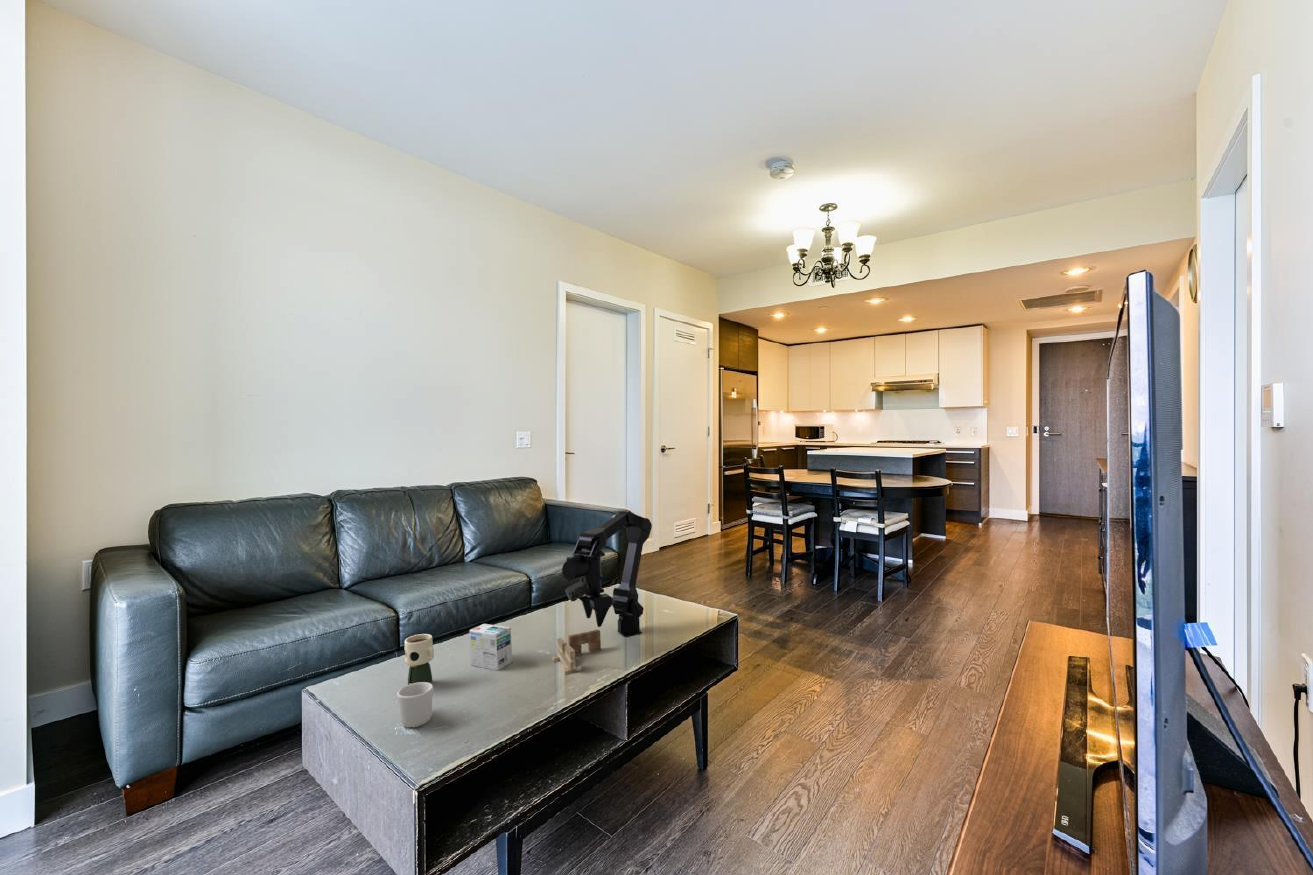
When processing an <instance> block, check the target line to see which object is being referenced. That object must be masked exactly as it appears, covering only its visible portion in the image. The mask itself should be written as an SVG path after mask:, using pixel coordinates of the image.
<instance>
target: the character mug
mask: <svg viewBox="0 0 1313 875" xmlns="http://www.w3.org/2000/svg"><path fill="white" fill-rule="evenodd" d="M404 653H405V654H404V655H405V656H404V662H405V664H406V665H407V666H409V668H408V676H407V685H409V684H413V683H418V682H427V683H431V684H432V682H433V675H432V669H431V664H430V663H429V662H431V661H432V660H434V657H435V656H434V655H435V654H434V645H433V636H432V634H429V633H421V634H419V633H418V634H414V635H411V636H409V637H407V638H405V639H404Z"/></svg>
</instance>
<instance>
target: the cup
mask: <svg viewBox="0 0 1313 875" xmlns="http://www.w3.org/2000/svg"><path fill="white" fill-rule="evenodd" d="M433 697H434V685H433V684H432V682H431V683H427V682H418V683H413V684H409V685H408V684H407V685H404V686H402V687H401V688H400V689H399V690H398V691H397V693H396V698H397V699H396V700H397V705H398V710H399V711H398V712H399V717H400V722H401V724H402V725H403V727H405V728H408V727H413V728H417V727H422V726H424V725H425V724H426V723H428V722H429V721H430V719H431V718H432V711H433Z"/></svg>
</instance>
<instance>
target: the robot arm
mask: <svg viewBox="0 0 1313 875" xmlns="http://www.w3.org/2000/svg"><path fill="white" fill-rule="evenodd" d="M624 528H626V536H627V540H628V546H627V551H626V555H625V562H624V567H623V573H622V577H621V582H620V584H619V585H618V587H614V588H613V593H612V596H611V595H610V594H608V593H606V592H605V589H604V588H603V585H602V584H603V583H602V582H603V581H602V580H604V579H605V577H604V575H602V557H605V556H606V553H605V552H604V551H602V549H603V548H604V547H605V546H606V545H607V543H608V540H609V539H610V538H611V537H613V536H614V535H615V534H617V533H618V532H619V531H621V530H622V529H624ZM652 528H653V524H652V522H651V520H650V518H648V517H643V516H641V515H637V514H635V513H634V512H632V511H627V510H622V511H618V512H617V514H616V515H614V516H613V517H612V518H610V519H609V520H607V521H606V522H604V523H603V524H601V525H600V526H598V527H596V528H592V529H589V530H585V531H583V532H581V534H580V535H579V538H578V539H577V542H576V544H575V546H574V549H573V551H572V553H571V555H572V556H567V557H566V561H565V562H564V563H563V565H562V567H561V571H562V575H563V577H564V578H565V579H566V580H567V581H574V580H576V579H579V581H577V582H575V583H573V584H571V585H570V586H568V587H566V588H565V589H564V591H565V593H566V596H567V598H568V600H570V602H576V601H577V600H579V601H581V604H582V606H583V610H584V612H585V616H586V618H587V619H591V617H592V613H593V611H594V614H595V621H596V626H597V628H601V627H602V625H603V623H604V621H605V618H606V616H607V613H608V612H609V611H610V610H609V609H610V608H611V607H612V608H613V612H614V614H615V615H618V619H617V630H616V632H618V633H619V634H620V635H621V636H623V637H626V638H627V637H630V636H634V635H639V634H642V633H643V632H642V630H640V626H641V625H640V617H642V615H643V614H644V607H643V605H641V603H640V602H639V593H638V590H637V587H636V585H637V580H638V574H639V570H640V569H639V568H640V563H641V558H642V553H643V547H644V544H645V543H646V541H647V540H648V539H649V537H650V534H651V531H652Z"/></svg>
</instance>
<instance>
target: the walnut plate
mask: <svg viewBox="0 0 1313 875" xmlns="http://www.w3.org/2000/svg"><path fill="white" fill-rule="evenodd" d="M567 638H568V639H567V640H568V643H567V645H568V646H570V647H571V648H572V649H573V650H574V651H575V657H576V656H579V655H580V656H581V655H582V645H585V644H587V645H588V647H587V648H588V652H589V653H592V652H593V653H594V652H597V651H601V650H602V645H601V643H602V642H601V630H600V629H594V630H590V631H584V632H580V633H575V634H570V635H568V636H567Z"/></svg>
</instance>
